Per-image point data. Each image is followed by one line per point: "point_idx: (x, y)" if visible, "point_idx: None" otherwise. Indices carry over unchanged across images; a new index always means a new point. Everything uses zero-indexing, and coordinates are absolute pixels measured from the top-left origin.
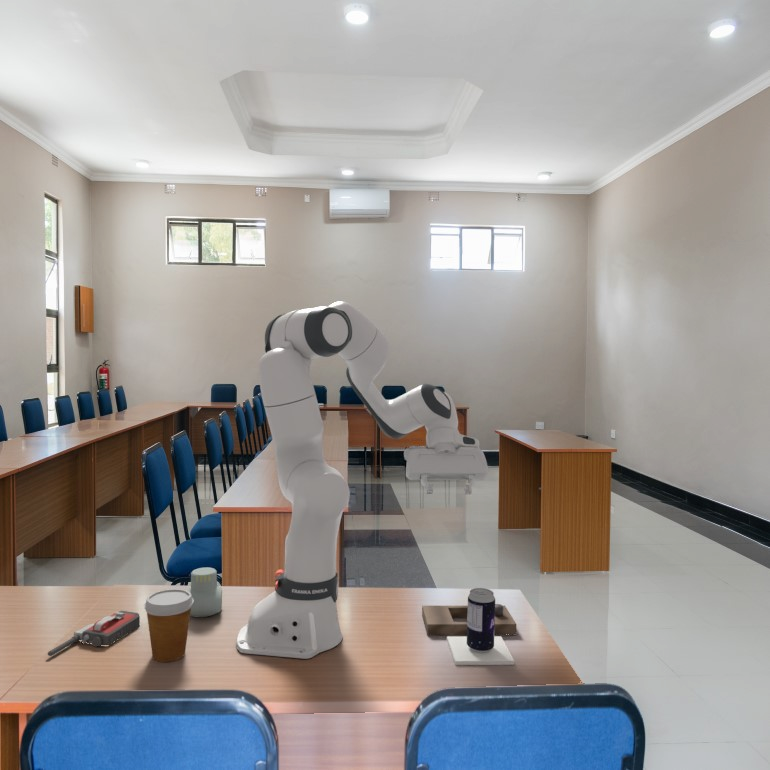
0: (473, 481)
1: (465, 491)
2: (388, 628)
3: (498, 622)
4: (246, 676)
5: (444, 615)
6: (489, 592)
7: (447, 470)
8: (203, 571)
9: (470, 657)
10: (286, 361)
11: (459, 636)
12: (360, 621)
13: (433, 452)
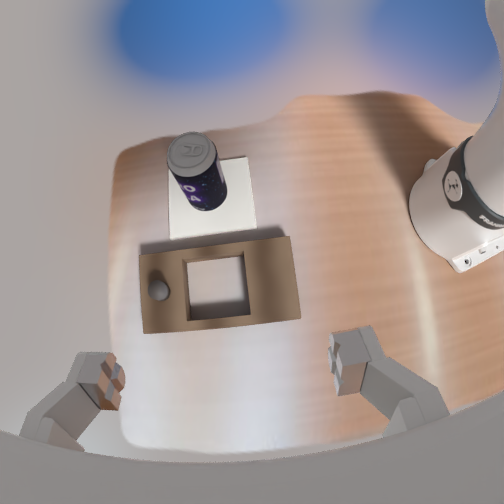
0: (43, 401)
1: (115, 373)
2: (353, 260)
3: (166, 258)
4: (461, 133)
5: (258, 276)
6: (173, 156)
7: (202, 480)
8: None
9: (225, 168)
10: None
11: (236, 229)
12: (398, 280)
13: None
